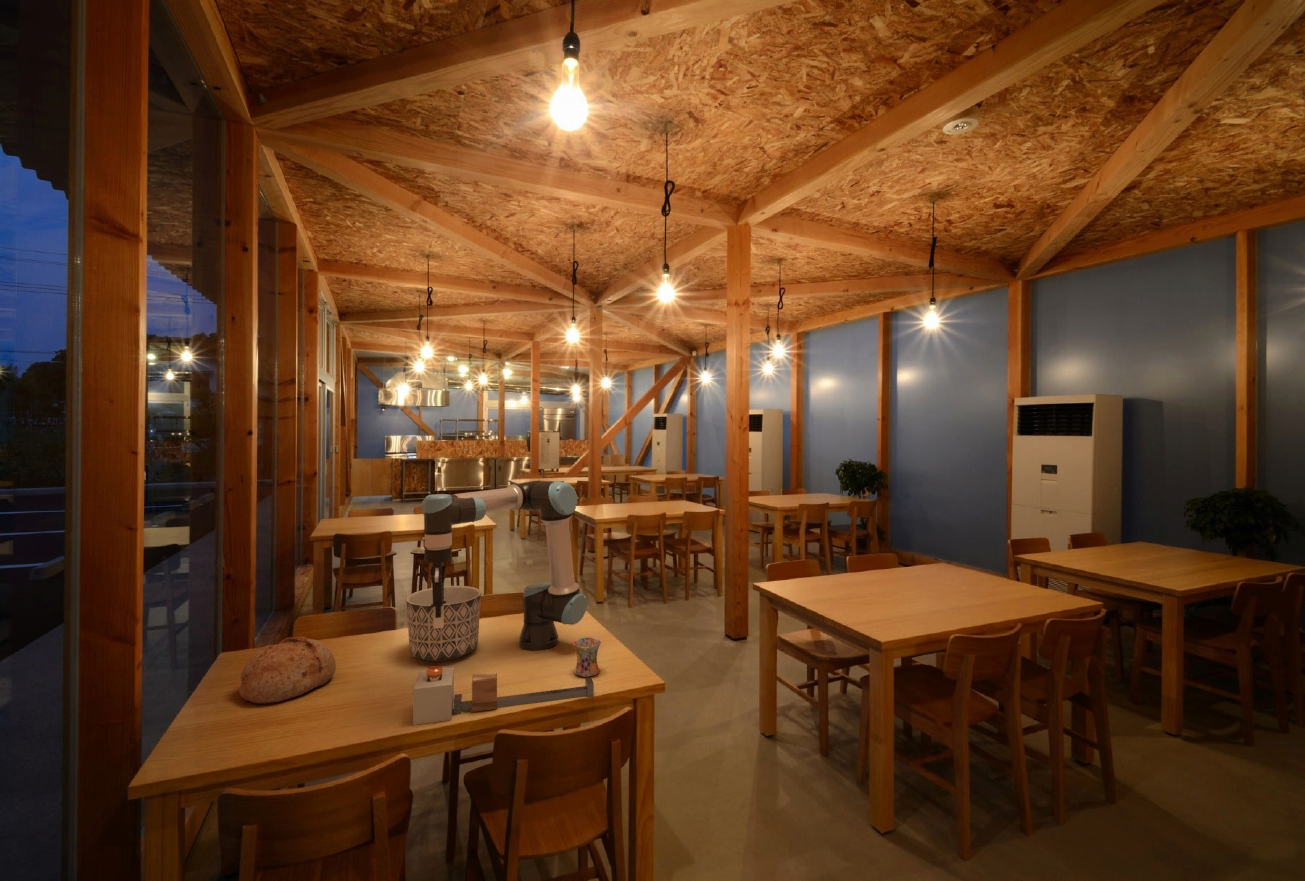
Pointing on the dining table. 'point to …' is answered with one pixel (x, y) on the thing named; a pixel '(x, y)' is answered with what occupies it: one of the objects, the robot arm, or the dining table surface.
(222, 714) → the dining table surface
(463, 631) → the planter
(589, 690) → the rail
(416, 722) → the knob base
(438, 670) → the push button
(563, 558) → the robot arm
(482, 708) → the block
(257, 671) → the bread
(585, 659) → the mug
